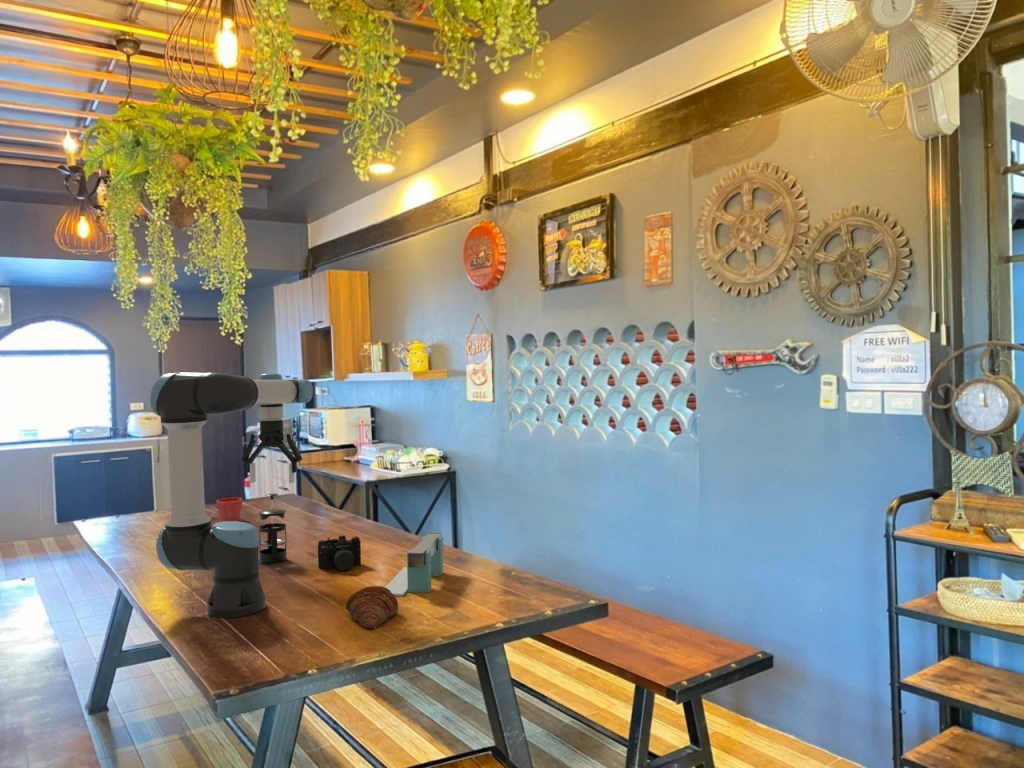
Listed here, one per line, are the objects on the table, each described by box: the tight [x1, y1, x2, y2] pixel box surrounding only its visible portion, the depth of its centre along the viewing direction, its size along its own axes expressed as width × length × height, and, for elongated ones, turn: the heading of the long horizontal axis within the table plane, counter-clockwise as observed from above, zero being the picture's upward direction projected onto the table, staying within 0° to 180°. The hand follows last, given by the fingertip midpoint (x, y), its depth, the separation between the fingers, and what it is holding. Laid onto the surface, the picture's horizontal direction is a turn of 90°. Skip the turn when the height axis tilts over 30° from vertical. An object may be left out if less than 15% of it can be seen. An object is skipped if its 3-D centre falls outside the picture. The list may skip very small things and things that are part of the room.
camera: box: [317, 535, 362, 571], centre depth 247 cm, size 14×11×10 cm
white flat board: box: [384, 566, 408, 597], centre depth 231 cm, size 30×7×1 cm, turn 174°
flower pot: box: [216, 497, 243, 522], centre depth 329 cm, size 11×11×10 cm
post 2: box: [420, 535, 444, 577], centre depth 239 cm, size 4×6×12 cm, turn 84°
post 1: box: [406, 549, 432, 593], centre depth 221 cm, size 4×6×12 cm, turn 84°
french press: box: [258, 493, 288, 565], centre depth 259 cm, size 12×9×23 cm
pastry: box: [345, 585, 399, 630], centre depth 198 cm, size 17×15×8 cm
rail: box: [408, 532, 442, 568], centre depth 230 cm, size 28×4×4 cm, turn 174°
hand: (272, 482), depth 253 cm, fingers open, 13 cm apart
